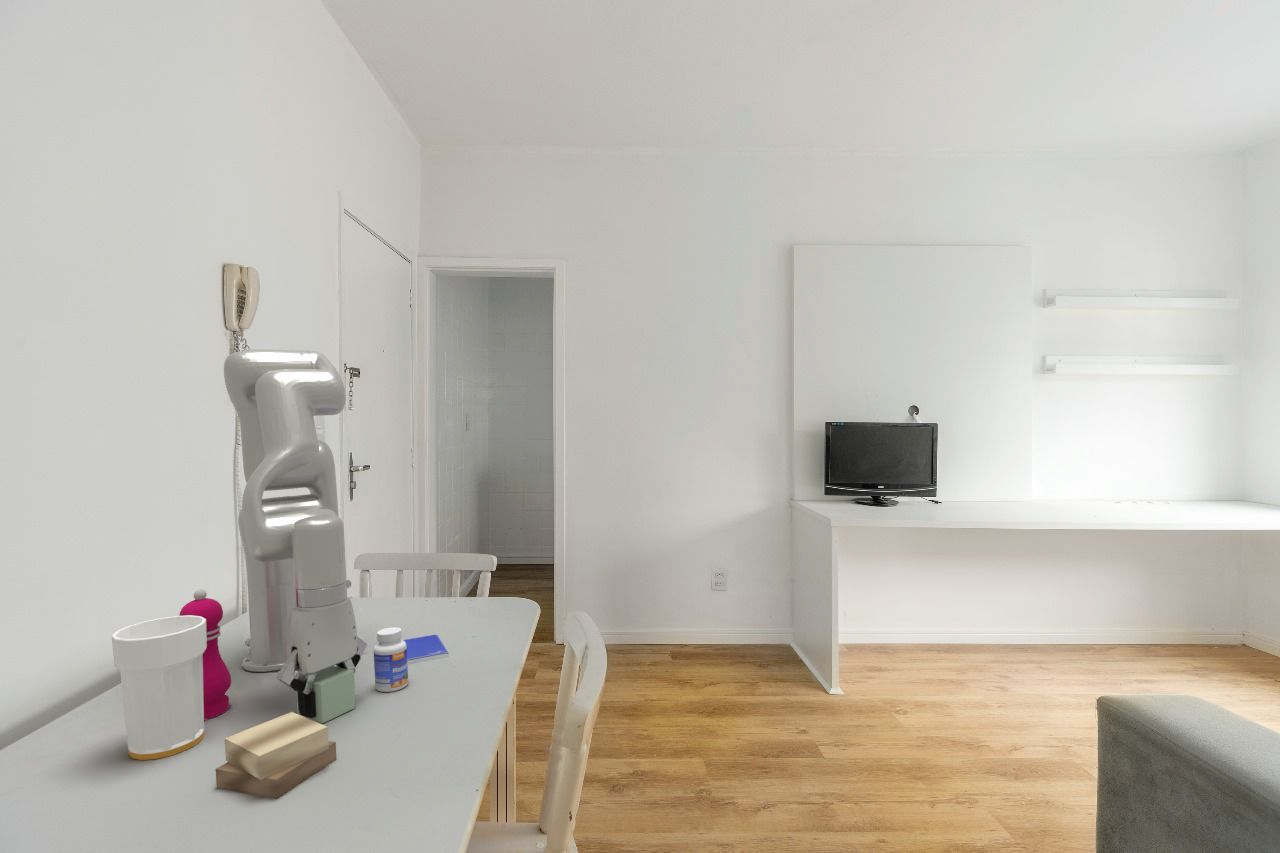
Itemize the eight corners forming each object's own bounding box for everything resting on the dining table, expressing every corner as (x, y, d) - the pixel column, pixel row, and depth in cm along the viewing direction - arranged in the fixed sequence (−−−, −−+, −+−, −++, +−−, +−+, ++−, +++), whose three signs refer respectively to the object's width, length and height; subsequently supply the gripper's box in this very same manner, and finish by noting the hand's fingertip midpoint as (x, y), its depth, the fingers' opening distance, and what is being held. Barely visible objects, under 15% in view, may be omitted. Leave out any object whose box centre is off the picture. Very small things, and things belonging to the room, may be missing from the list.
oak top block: (225, 760, 92) (224, 738, 92) (293, 732, 99) (291, 711, 99) (260, 779, 87) (259, 756, 86) (328, 748, 94) (327, 726, 94)
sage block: (297, 715, 110) (295, 678, 110) (331, 700, 115) (329, 664, 115) (322, 723, 107) (320, 684, 107) (355, 707, 112) (353, 670, 112)
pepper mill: (243, 705, 115) (236, 584, 115) (203, 724, 108) (195, 596, 108) (210, 700, 118) (203, 582, 117) (169, 719, 111) (161, 594, 110)
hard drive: (448, 651, 134) (437, 633, 146) (404, 659, 131) (396, 640, 142) (449, 659, 134) (437, 641, 146) (404, 668, 131) (396, 648, 142)
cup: (141, 772, 94) (133, 644, 94) (104, 752, 100) (97, 632, 100) (227, 736, 104) (221, 620, 103) (189, 720, 110) (183, 611, 109)
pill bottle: (397, 693, 118) (395, 636, 117) (368, 692, 119) (366, 635, 118) (414, 680, 123) (411, 626, 123) (386, 679, 124) (383, 625, 124)
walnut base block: (216, 792, 90) (215, 768, 90) (279, 754, 99) (278, 733, 99) (277, 803, 87) (276, 779, 86) (336, 763, 96) (335, 741, 96)
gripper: (351, 579, 120) (356, 683, 120) (253, 607, 105) (260, 725, 105) (381, 583, 116) (386, 690, 117) (285, 613, 101) (291, 736, 102)
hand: (326, 706), depth 111 cm, fingers closed on sage block, 6 cm apart
